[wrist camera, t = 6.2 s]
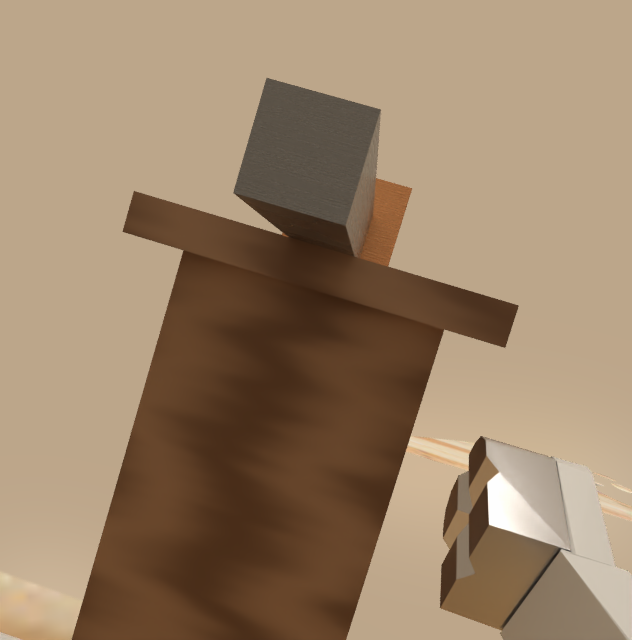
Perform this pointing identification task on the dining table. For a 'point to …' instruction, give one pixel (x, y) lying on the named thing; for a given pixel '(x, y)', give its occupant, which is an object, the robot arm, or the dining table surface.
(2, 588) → the dining table surface
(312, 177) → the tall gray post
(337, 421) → the walnut stand
